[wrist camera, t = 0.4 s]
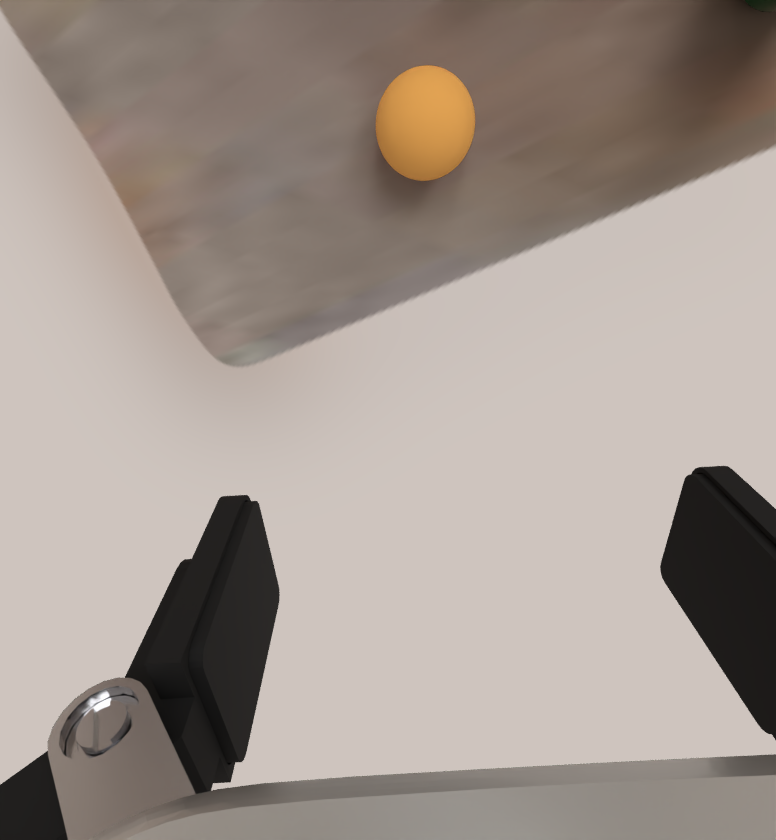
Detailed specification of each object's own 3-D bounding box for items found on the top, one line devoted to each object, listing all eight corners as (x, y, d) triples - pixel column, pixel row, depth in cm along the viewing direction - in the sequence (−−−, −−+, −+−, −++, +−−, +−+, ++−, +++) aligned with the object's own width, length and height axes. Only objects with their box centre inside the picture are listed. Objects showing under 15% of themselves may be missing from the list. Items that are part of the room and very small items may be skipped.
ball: (440, 48, 28) (452, 31, 23) (482, 143, 30) (501, 146, 26) (358, 108, 29) (354, 104, 25) (405, 194, 32) (409, 206, 27)
